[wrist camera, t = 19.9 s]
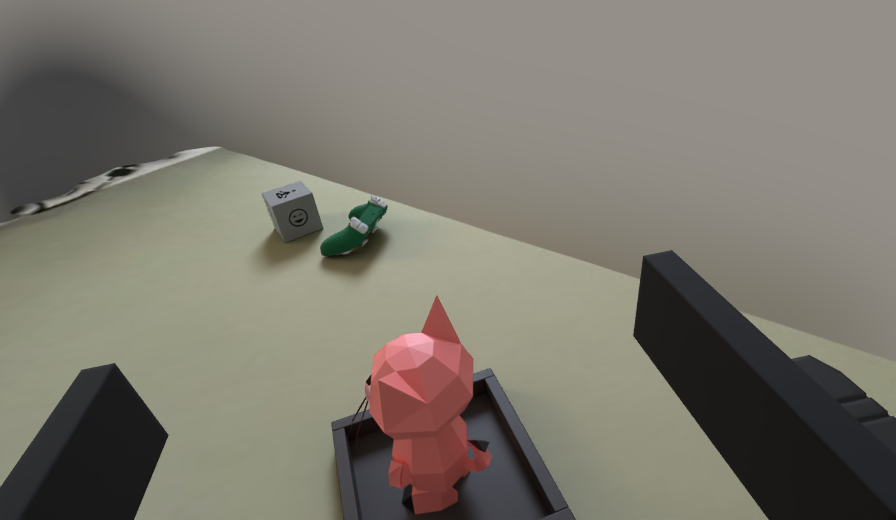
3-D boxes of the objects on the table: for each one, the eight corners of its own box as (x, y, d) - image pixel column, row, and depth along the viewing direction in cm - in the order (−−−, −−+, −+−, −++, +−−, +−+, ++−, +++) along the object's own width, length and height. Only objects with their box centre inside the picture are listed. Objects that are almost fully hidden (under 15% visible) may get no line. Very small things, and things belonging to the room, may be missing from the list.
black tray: (575, 539, 25) (576, 520, 24) (365, 630, 23) (355, 614, 22) (492, 385, 34) (490, 367, 33) (338, 439, 32) (330, 421, 31)
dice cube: (274, 228, 61) (261, 193, 58) (311, 215, 62) (300, 181, 60) (284, 242, 57) (271, 206, 54) (323, 228, 59) (312, 192, 56)
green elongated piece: (341, 272, 53) (367, 243, 49) (314, 252, 52) (339, 220, 49) (373, 231, 60) (397, 203, 57) (349, 212, 59) (373, 182, 56)
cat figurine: (419, 417, 32) (385, 279, 26) (514, 445, 29) (503, 298, 23) (366, 513, 27) (305, 371, 20) (475, 558, 24) (445, 411, 18)
